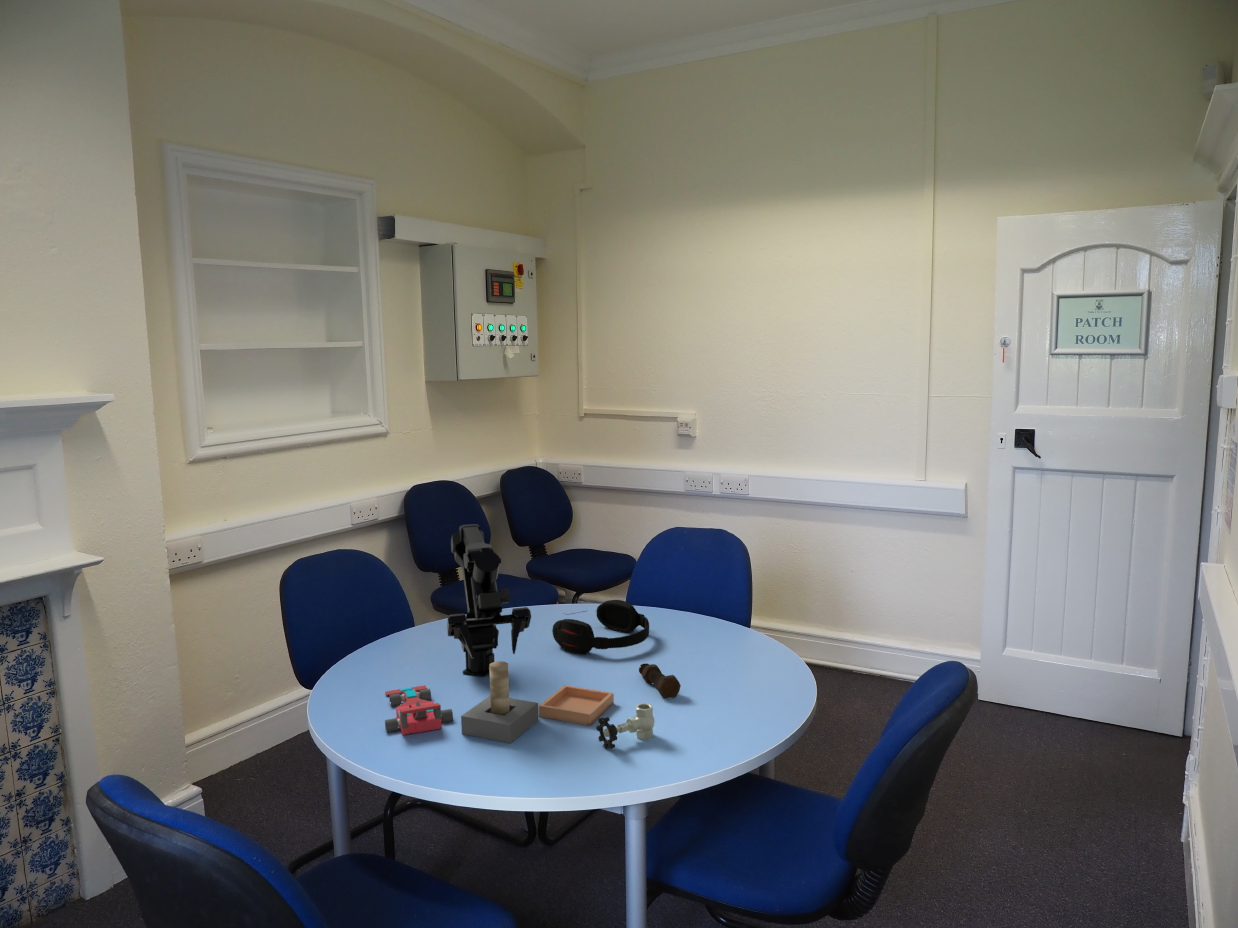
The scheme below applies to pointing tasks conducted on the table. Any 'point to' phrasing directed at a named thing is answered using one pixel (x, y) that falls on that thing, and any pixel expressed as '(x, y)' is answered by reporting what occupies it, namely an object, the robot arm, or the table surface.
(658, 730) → the table surface
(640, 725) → the valve
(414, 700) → the race car
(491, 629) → the robot arm
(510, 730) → the holder
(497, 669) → the dowel
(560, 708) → the tray
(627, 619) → the headset
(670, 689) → the bolt
